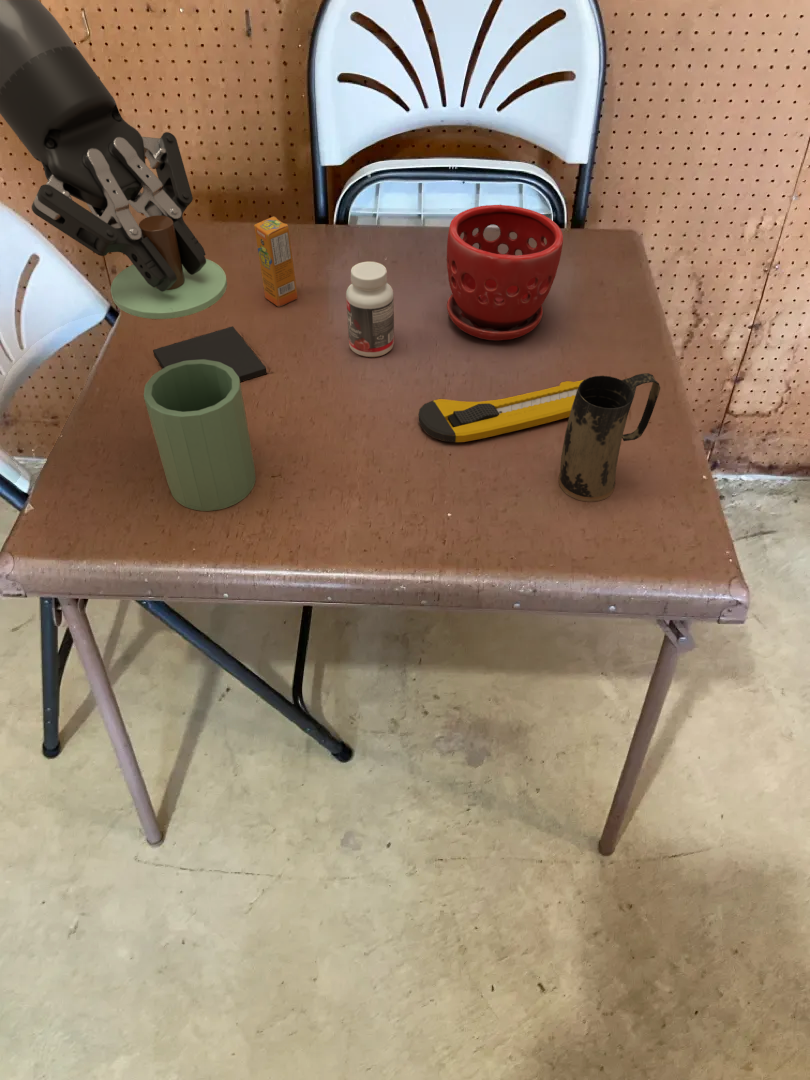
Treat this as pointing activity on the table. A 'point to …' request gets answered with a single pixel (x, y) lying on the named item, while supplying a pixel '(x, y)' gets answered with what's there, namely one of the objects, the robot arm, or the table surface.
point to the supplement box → (276, 261)
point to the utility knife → (496, 414)
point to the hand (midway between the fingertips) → (184, 276)
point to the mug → (600, 434)
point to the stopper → (182, 295)
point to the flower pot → (500, 271)
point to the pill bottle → (370, 310)
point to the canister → (201, 433)
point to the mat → (215, 352)
